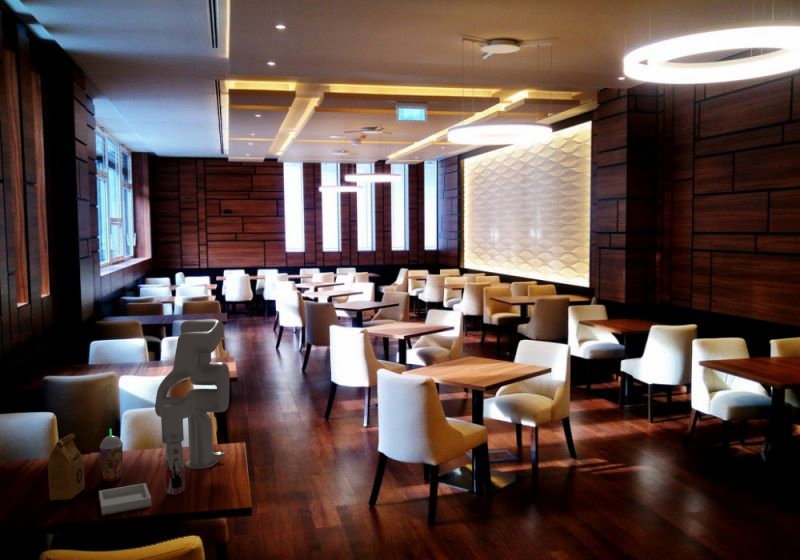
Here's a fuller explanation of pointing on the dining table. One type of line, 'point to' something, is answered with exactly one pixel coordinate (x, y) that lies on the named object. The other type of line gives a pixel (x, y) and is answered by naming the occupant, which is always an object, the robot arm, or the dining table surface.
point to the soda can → (169, 480)
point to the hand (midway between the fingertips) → (175, 483)
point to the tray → (124, 498)
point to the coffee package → (65, 470)
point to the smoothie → (111, 457)
